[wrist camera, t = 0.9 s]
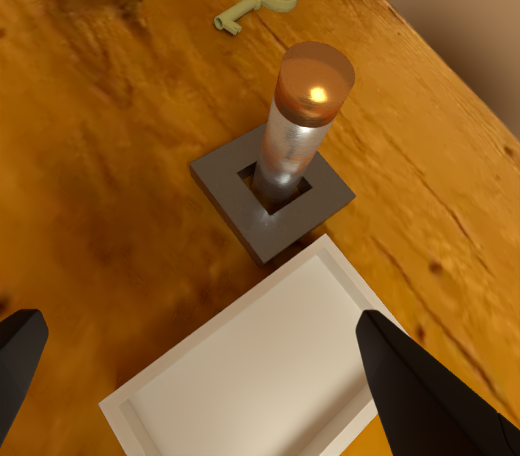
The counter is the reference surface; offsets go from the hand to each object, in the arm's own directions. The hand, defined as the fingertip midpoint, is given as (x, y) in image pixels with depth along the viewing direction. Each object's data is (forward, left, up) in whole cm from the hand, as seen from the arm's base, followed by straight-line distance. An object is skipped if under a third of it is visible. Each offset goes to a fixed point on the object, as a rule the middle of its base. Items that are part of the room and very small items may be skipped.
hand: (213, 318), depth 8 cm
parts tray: (-5, -1, -14) cm, 15 cm away
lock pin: (+6, -10, -14) cm, 19 cm away
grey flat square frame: (+6, -10, -14) cm, 19 cm away
